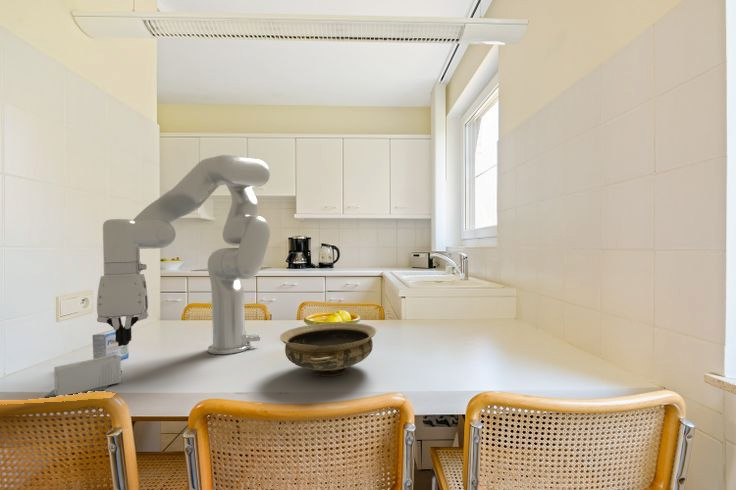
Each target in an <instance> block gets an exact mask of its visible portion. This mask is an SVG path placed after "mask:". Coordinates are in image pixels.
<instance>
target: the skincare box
mask: <svg viewBox="0 0 736 490" xmlns="http://www.w3.org/2000/svg"><path fill="white" fill-rule="evenodd" d="M121 366H122V360H121V358H120V357H119V356H118V355H111V356H106V357H101V358H96V359H93V358H91V359H88V360H87V359H86V360H82V361H76V362H73V363H71V362H70V363H68V364H62V365H57V366H55V367H53V369H54V370H53V373H54V374H53V378H54V379H53V380H54V389H53V390H54V393H55V394H56V396H59V395H66V394H74V393H80V392H84V391H88V390H92V389H95V388H99V387H103V386H107V385H109V386H110V385H114V384H119V383H121V382H122V373H121V369H122V368H121ZM74 395H75V394H74Z"/></svg>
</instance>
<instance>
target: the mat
mask: <svg viewBox="0 0 736 490" xmlns="http://www.w3.org/2000/svg"><path fill="white" fill-rule="evenodd" d="M122 373H123V370H121V374H122ZM109 386H110V385H107V386H103V387H99V388H95V389H92V390H88V391H98V392H101V391H100V390H104V391H105V390H106V389H107V388H108V387H109ZM88 391H84V392H88ZM51 396H56V394H55V393H54V389H53V390H51V391H50V392H48V393H47V394H45V395H44V398H45V397H49V398H52V397H51Z"/></svg>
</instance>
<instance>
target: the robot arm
mask: <svg viewBox="0 0 736 490" xmlns="http://www.w3.org/2000/svg"><path fill="white" fill-rule="evenodd" d="M270 171H271V170H270V168H269V166H268V165H267V163H266V162H264V161H263V160H261V159H258V158H253V157H246V156H238V155H230V154H221V155H217V156H213V157H207V158H205V159H202V160H201V161H199V162H198V163H197V164H195V165H194V167H193V168H192V169H191V170H189V172H188V173H187V174H186V175H184V176H183V177H182V179H181V180H180V181H179V182H178V183H177V184H176V185H175V186H174V187H172V188H171V189H169V191H166V192H165V193H164V194H163V195H161V196H160V197H158V198H157V199H156V200H154V201H152V202H151V203H150V204H149V205H147V206H146V207H145V208H144V209H143V210H141V212H139V213H138V214H137V215H136V216H135V217H134V218H133V219H131V218H130V219H127V218H111V219H106V220H105V221H104V222H103V224H102V243H103V245H102V246H103V247H102V249H103V275H102V276H100V278H99V282H98V283H99V284H98V290H97V297H96V298H97V299H96V313H97V318H96V322H97V323H104V324H108V325H109V326H111V328H113V330H114V329H115V330H116V342H118V346H122V345H123V346H126V345H127V344H128V345H129V344H130V342H131V341H132V339H133V338H132V328H133V326H134V325H135V324H136V323H137V322H139V321H143V320H145V319H146V320H147V318H149V313H148V311H149V295H148V289H147V281H146V277H145V275H144V274H142V273H141V272H142V271H144V270H147V264H146V263H145V264H144V263H141V256H140V255H141V253H140V252H141V249H142V250H144V249H145V250H146V249H150V250H152V249H153V250H154V249H156V250H157V249H163V248H166V247H168V246H170V245H171V244H172V243H173V242H174V241H175V239H176V229H175V227H174V226H173V224H171V223H173V222H175V220H178V219H180V218H182V217H184V216H187V215H190V214H192V213H193V212H195V211H197V210H199V208H201V207H202V205H203V204H204V203H205V202H206V201H207V200H208V199H209V197H210V196H211V195H212V194H213V193H214V192H215V191H216V190H217V189H218V188H219V187H220V186H226V187H227V189H228V191H229V193H230V196H231V204H230V208H229V212H228V214H227V217H226V221H225V224H224V226H223V228H222V229H223V231H222V239H223V241H224V242H225V243H226V244H227V245H229V246H233V247H223V248H219V249H217V250H214V251H213V252H212V253H211V254H210V255H209V256H208V260H207V271H208V276H209V281H210V288H211V313H212V314H211V318H212V319H211V320H212V324H211V325H212V344H210V345H208V347H207V352H208V353H209V354H213V355H230V354H235V353H236V354H237V353H240V352H245V351H246V350H248V349H250V348H251V342H260V341H261V334H247V331H246V325H245V324H246V321H245V320H246V319H245V316H246V315H245V290H244V286H243V283H242V281H241V280H249V279H252V278H254V277H256V276H257V275H258V274H259V272H260V270H261V268H262V265H263V263H264V262H263V261H264V258H265V255H266V252H267V248H268V244H269V241H270V237H271V230H270V226H269V223H268V221H267V220H266V219H265V218H264V217H263V216H260V215H257V214H258V211H259V200H258V199H257V197H256V194H255V193H254V190H253V188H258V187H262V186H264V185H266V184H267V182H269V180H270V176H271V173H270ZM122 317H125V320H124V325H123V321H122Z"/></svg>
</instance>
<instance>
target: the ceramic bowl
mask: <svg viewBox="0 0 736 490" xmlns="http://www.w3.org/2000/svg"><path fill="white" fill-rule="evenodd" d="M376 333H377V329H376V328H375V327H374V326H372V325H368V324H364V323H358V322H357V323H356V322H327V323H325V322H324V323H318V324H316V323H315V324H310V325H304V326H303V325H302V326H298V327H295V328H291V329H288V330H286V331H284V332H282V333H281V334H280V336H279V339H280V340H281V342H282V343H284V344H285V347H284V351H285V357H286V358H287V359H288V361H290V362H291V363H292V364H294V365H295V366H297V367H301V368H303V369H308V370H314V374H316V375H317V376H320V377H334V376H340V375H342V374H344V373H346V372H347V371H348V369H347V368H349V367H352V366H354V365H357V364H359V363H361V362H362V361H364V360H366V359H367V358H368V356H370V354H371V353H372V351H373V346H374V344H373V339H372V338H373V337H374V336H376Z"/></svg>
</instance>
